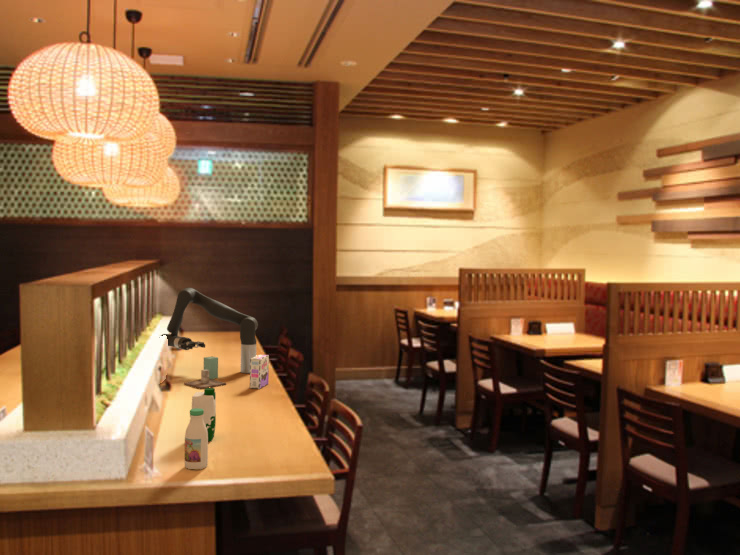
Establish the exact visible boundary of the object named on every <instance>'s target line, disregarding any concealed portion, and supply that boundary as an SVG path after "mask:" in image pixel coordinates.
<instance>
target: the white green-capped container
mask: <svg viewBox="0 0 740 555" xmlns="http://www.w3.org/2000/svg"><path fill="white" fill-rule="evenodd" d="M215 388H216V387H211V388H205V389H203V391H196V392H195V393H193V395H192V398H191V409H195V408H200V409H203V410H204V414H203V415H204V416H203V421H204V423H205V426H206V428H207V432H208V441H211V442H212V441H213V439H214V437H215V434H216V433H215V431H216V424H217V422H216V421H217V418H216V416H217V415H216V412H217V411H216V410H217V409H216V408H217V405H216V404H217V403H216V402H217V399H216V398H217V393H216V391H215Z"/></svg>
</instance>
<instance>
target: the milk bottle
mask: <svg viewBox="0 0 740 555" xmlns="http://www.w3.org/2000/svg"><path fill="white" fill-rule="evenodd" d="M203 414H204V410H203V409H200V408H195V409H192V408H191V409H190V410H189V417H190V419H189V423H188V425H187V427H186V430H185V435H184V468H185V467H186V468H188V469H187V470H189V469H200V470H203V468H204V469H206V468H207V467H208V465H209V463H208V462H209V442H208V432H207V428H206V426H205V423H204V421H203V416H204V415H203ZM205 467H206V468H205ZM186 468H185V469H186Z"/></svg>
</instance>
